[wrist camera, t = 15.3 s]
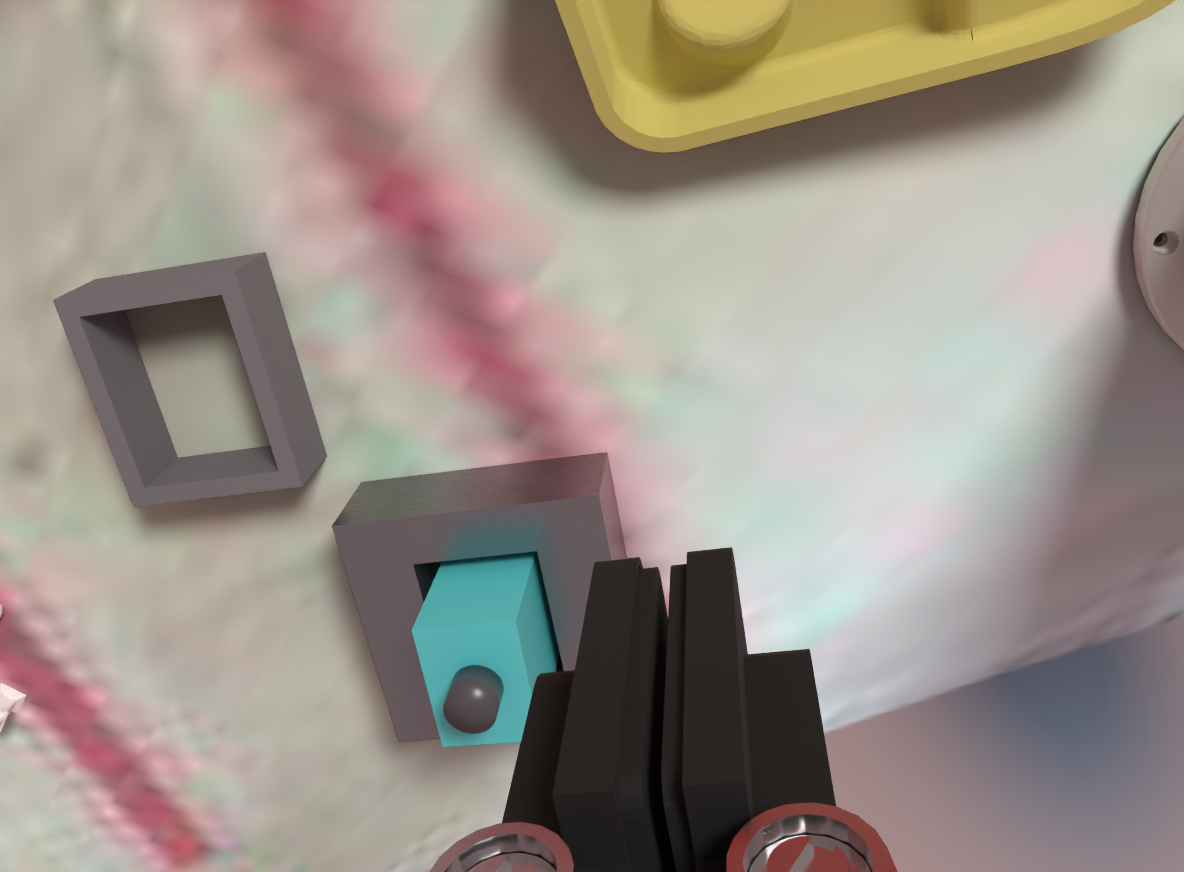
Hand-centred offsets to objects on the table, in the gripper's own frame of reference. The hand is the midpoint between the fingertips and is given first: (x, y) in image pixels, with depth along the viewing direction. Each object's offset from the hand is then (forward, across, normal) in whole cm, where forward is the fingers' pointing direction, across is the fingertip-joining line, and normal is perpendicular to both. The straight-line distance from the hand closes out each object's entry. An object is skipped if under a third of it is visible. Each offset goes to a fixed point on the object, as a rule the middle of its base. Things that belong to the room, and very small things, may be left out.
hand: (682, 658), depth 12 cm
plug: (+29, +10, +16) cm, 35 cm away
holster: (+29, +21, +4) cm, 36 cm away
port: (+29, +10, +15) cm, 35 cm away
